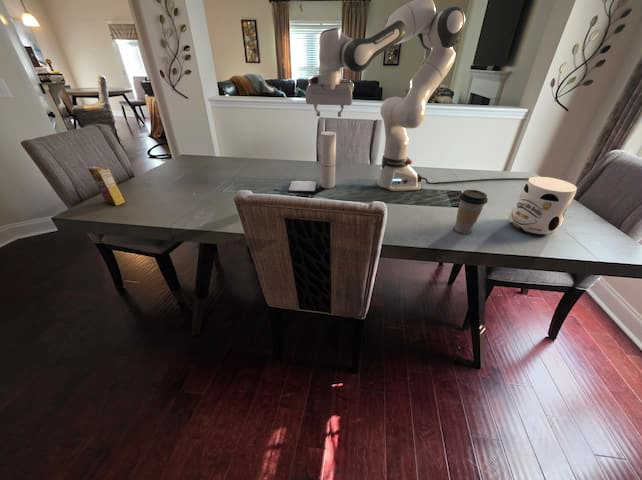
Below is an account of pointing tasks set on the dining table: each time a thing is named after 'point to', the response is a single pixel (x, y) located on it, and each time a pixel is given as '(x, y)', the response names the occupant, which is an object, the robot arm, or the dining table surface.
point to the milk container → (542, 205)
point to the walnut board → (302, 187)
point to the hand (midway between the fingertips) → (328, 116)
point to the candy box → (106, 185)
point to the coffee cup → (469, 210)
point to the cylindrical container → (328, 159)
